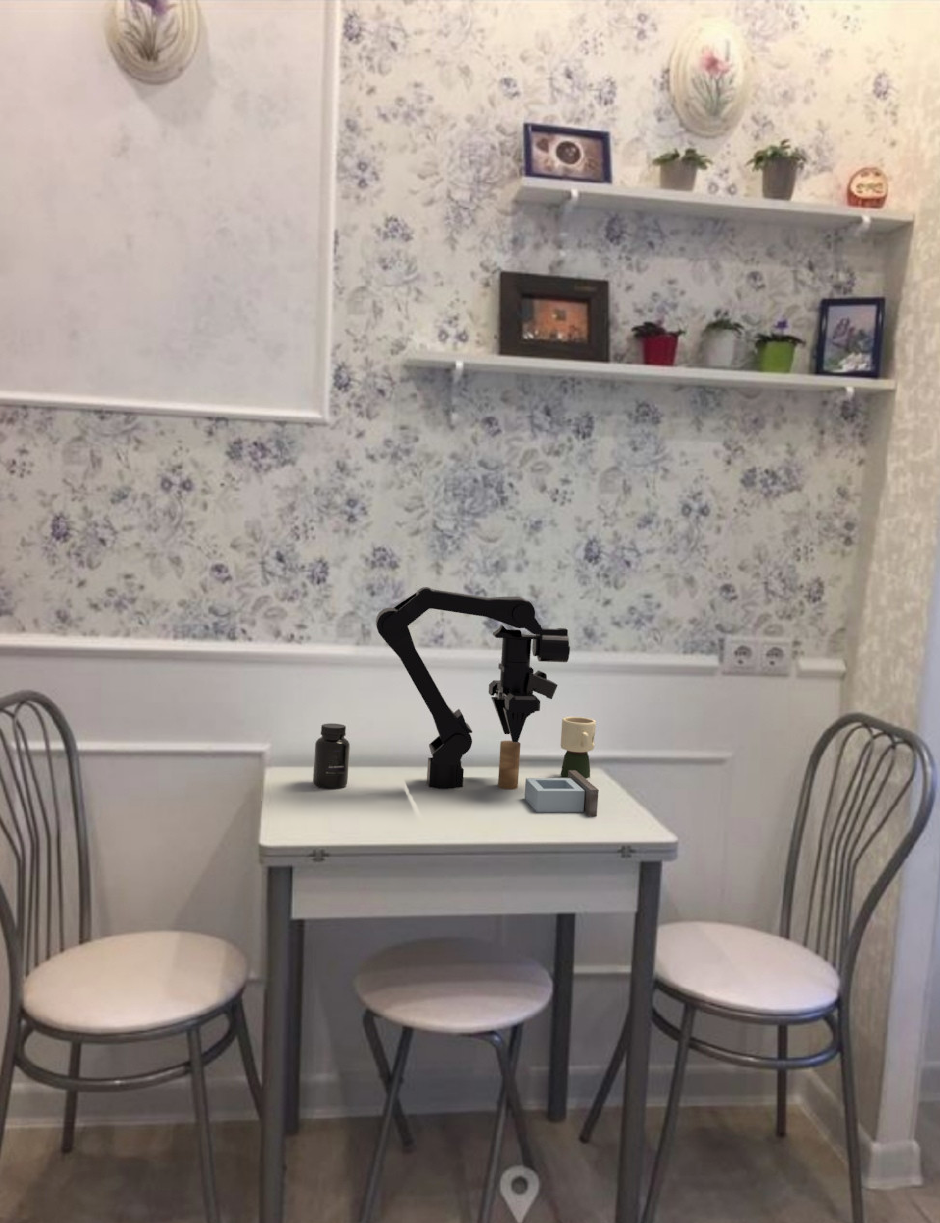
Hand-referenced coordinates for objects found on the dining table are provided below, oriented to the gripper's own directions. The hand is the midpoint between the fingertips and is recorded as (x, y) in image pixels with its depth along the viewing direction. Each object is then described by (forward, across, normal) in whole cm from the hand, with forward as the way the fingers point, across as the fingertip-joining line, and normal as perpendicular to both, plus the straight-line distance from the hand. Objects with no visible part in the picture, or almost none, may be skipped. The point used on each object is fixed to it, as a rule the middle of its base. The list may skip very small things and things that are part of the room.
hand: (510, 737), depth 205 cm
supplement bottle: (+11, +5, +35) cm, 37 cm away
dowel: (+11, 0, 0) cm, 11 cm away
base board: (+11, -13, -3) cm, 17 cm away
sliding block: (+10, -13, -6) cm, 17 cm away
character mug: (+11, +9, -17) cm, 22 cm away
